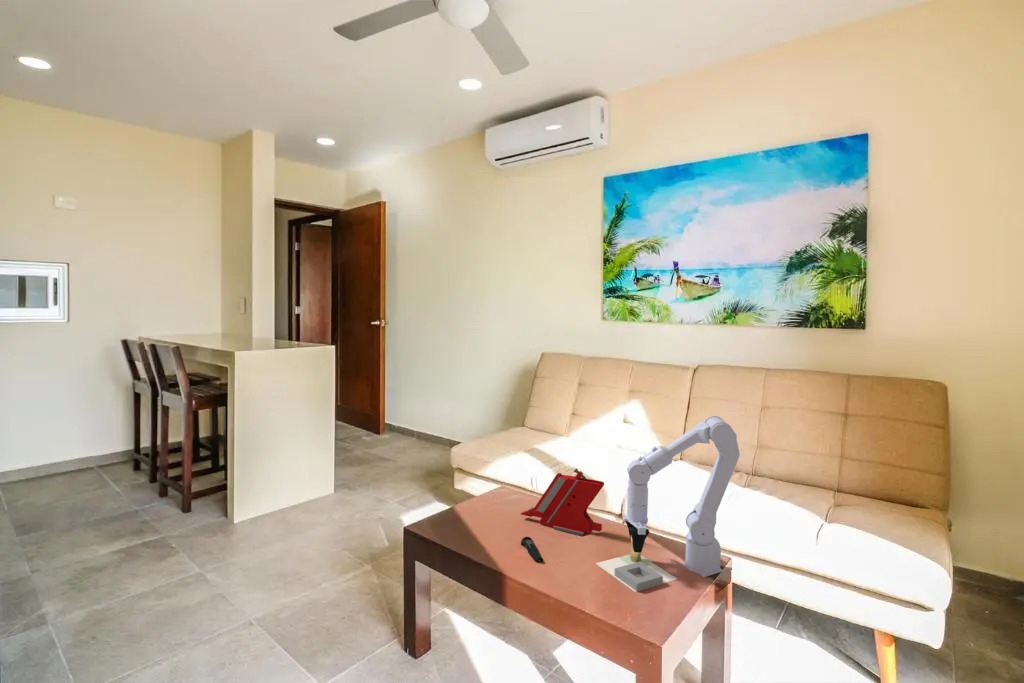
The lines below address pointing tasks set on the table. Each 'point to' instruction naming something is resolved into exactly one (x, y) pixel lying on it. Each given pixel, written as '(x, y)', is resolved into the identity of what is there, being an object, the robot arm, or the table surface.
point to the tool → (568, 504)
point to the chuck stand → (636, 572)
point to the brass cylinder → (634, 554)
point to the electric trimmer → (531, 549)
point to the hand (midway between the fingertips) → (636, 548)
